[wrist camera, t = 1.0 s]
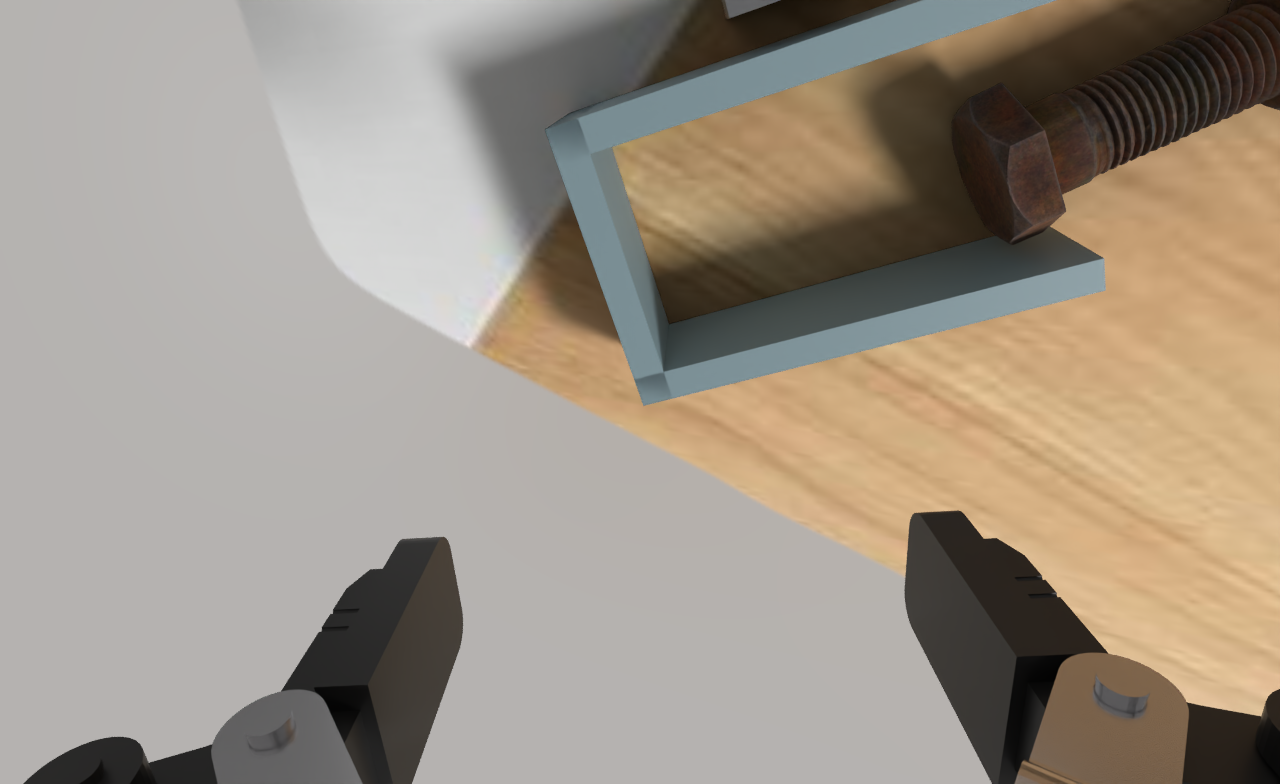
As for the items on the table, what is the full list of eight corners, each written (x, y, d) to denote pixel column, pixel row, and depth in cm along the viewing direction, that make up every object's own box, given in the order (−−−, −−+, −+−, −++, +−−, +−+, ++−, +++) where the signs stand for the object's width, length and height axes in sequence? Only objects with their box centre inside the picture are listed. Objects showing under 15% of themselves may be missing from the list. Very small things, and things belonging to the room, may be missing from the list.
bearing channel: (569, 113, 29) (544, 129, 24) (1021, -43, 25) (1089, -57, 21) (651, 354, 33) (643, 405, 29) (1045, 250, 30) (1105, 290, 25)
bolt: (1356, -8, 27) (951, 180, 30) (1412, -154, 23) (939, 81, 26) (1497, 75, 23) (1021, 276, 27) (1590, -81, 19) (1019, 178, 23)
